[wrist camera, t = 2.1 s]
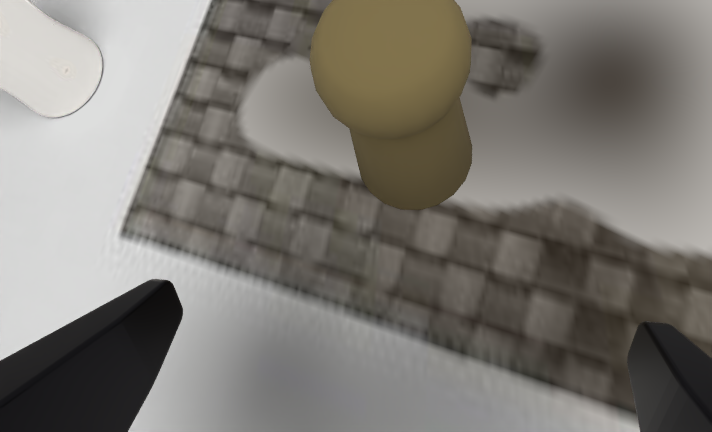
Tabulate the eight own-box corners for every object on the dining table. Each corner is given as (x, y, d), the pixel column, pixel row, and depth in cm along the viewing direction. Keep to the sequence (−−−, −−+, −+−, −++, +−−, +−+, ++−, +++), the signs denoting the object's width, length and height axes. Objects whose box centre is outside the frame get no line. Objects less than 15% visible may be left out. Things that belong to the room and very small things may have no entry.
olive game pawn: (393, 84, 24) (348, -88, 14) (494, 130, 23) (530, -27, 12) (337, 177, 24) (246, 73, 13) (435, 231, 22) (420, 160, 12)
